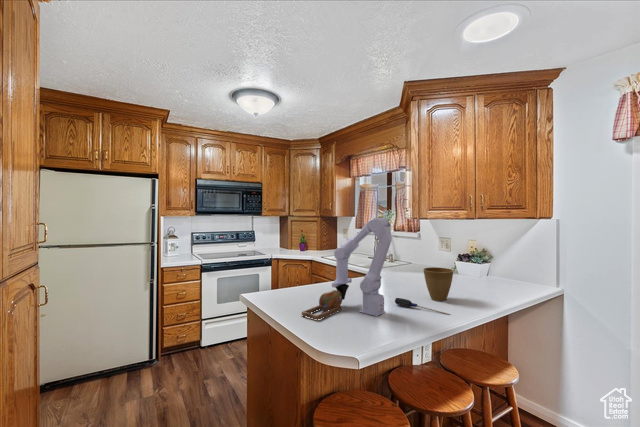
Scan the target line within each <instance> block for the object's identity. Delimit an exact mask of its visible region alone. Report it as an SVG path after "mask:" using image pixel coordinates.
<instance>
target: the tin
mask: <svg viewBox="0 0 640 427" xmlns="http://www.w3.org/2000/svg"><path fill="white" fill-rule="evenodd" d="M342 303H343V300H342V294H341V292H340V291H338V290H337V289H333V290H331V291H327V292H324V293H322V294H321V295H320V297H319V300H318V306H319V307H320V309H321V310H320V311H323V312H326V311H328V310H331V309H333V308H336V307H338V306H342Z"/></svg>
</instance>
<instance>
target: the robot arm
mask: <svg viewBox="0 0 640 427" xmlns="http://www.w3.org/2000/svg"><path fill="white" fill-rule="evenodd" d="M391 227H392V224H391V222H390V221H389V219H387V218H386V217H372V218H370V220H368V221H367V222H366V223H365V225H364V226H363V227H362V228H361V229H360V230H359V231H358V232H357V234H356V235H355V236H354V237H348V238H347V239H346V241H345V242H344V243H343V244H341V245H340V247H337V248H335V250H334V252H333V256H334V258H335V259H336V265H335V266H336V268H335V270H336V271H335V272H336V276H335V278H336V279H334V282H332V283H331V287H332V288H335V290H338V291H340V292H341V294H342V301H344V300H345V298H346V294H347V291H348V289H349V286H350V285H349V284H351V283H352V282H353V281H352V278H350V277H349V271H348V270H349V259H350V257H351V254H352V253H353V252H354V251H355V250H356V249H357V248H358V247H359V246H360V242H362V240H363V239H365V238H366V237H367V236H369V234H371V233H372V234H374V235H375V236H376V238H377V239H378V242H377V245H376V248H375V251H374V254H373V257H372V260H371V263H370V266H369V269H368V272H367V273H366V274H365V275H364V278H363V279H362V280H361V281H360V283H359V289H360V290H361V292H362V308H361V309H360V310H359V311H358V312H359V313H363V314H365V315H366V314H367V315H370V316H375V317H378V316H380V315H381V314H383V313H385V296H384V295H383V294H380V293H379V289H380V288H381V286H382V282H381V281H382V276H381V273H382V269H383V267H384V264H385V261H386V258H387V255H388V252H389V249H390V246H391V244H392V240H393V237H392V231H391V230H392V229H391Z"/></svg>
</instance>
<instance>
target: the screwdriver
mask: <svg viewBox="0 0 640 427" xmlns="http://www.w3.org/2000/svg"><path fill="white" fill-rule="evenodd" d="M394 304H396V305H399V306H402V307H404V308H411V307H413V308H420V309H424V310H429V311H432V312H434V313H435V312H436V313H439V314H442V315H448V316H451V315H452V314H450V313H448V312H443V311H441V310H436V309H433V308H429V307H424V306H421V305H418V304H417V303H415V302H412V300H409V299H406V298H401V297H396V298H395V299H394Z"/></svg>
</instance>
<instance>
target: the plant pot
mask: <svg viewBox="0 0 640 427" xmlns="http://www.w3.org/2000/svg"><path fill="white" fill-rule="evenodd" d="M423 275H424V280H425V285H426V289H427V291H428V294H429V297H430V299H431V300H432V301H435V302H445V301H447V299H448V296H449V293H450V291H451V286H452V282H453V277H454V270H453V269H452V268H446V267H435V266H434V267H425V268H423Z"/></svg>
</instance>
